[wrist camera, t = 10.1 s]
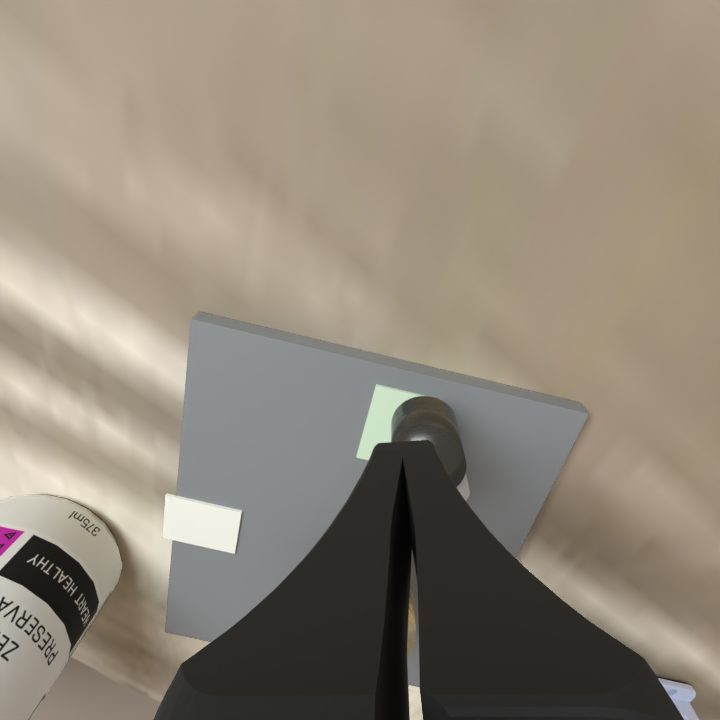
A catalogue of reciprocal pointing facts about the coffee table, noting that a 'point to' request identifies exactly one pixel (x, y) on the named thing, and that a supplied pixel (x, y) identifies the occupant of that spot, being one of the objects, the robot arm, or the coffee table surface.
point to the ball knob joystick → (441, 428)
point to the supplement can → (47, 592)
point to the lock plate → (324, 459)
